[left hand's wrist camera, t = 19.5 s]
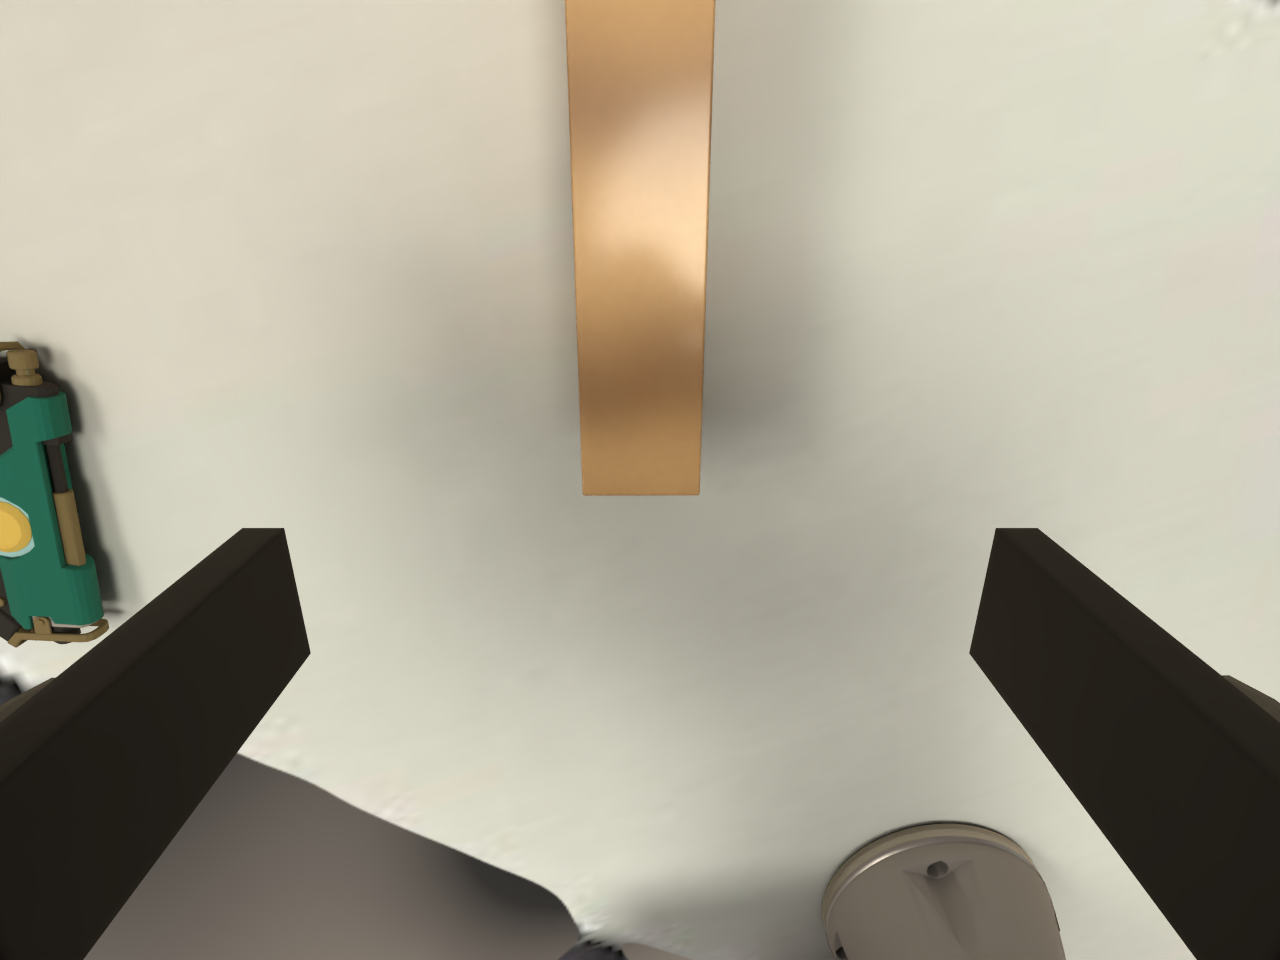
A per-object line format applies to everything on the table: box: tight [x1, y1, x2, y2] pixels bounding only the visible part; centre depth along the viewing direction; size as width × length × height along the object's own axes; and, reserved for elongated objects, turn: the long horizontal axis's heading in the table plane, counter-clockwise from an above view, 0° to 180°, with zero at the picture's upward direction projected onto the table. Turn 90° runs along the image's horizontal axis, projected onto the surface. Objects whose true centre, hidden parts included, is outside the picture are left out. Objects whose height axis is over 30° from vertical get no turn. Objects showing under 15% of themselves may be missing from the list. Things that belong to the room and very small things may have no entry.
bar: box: [565, 0, 715, 495], centre depth 26 cm, size 26×5×10 cm, turn 0°
